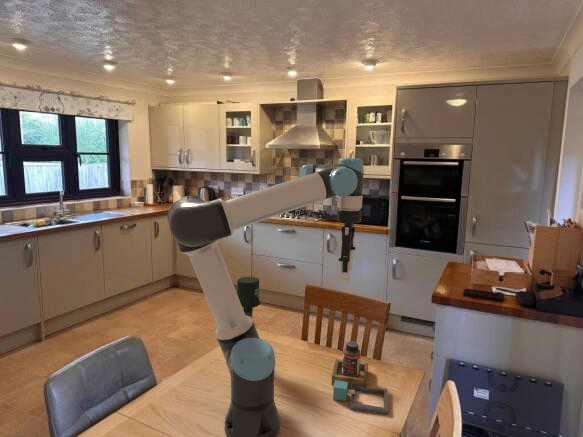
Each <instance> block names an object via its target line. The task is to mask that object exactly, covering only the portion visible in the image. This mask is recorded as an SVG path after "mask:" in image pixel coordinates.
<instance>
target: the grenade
mask: <svg viewBox="0 0 583 437" xmlns="http://www.w3.org/2000/svg"><path fill="white" fill-rule="evenodd" d="M236 293H237V295H238V298H239V300H240V303H241V305H242V308H243V310H244V313H245V315H246V316H249V317H251V318H252V319H253V310H254V308H257V307H259V306H260V304H261V300H260V279H259V278H257V277H254V276H242V277H240V278H238V279H237V280H236Z"/></svg>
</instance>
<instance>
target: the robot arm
mask: <svg viewBox="0 0 583 437" xmlns="http://www.w3.org/2000/svg"><path fill="white" fill-rule="evenodd" d="M364 171H365V170H364V161H363V159H361V158H353V157H351V158H350V157H347V158H345V157H343V158H342V157H341V158H339V160H338V163H337V164H318V163H317V164H315V163H314V164H313V163H310V164H304V165H302V166H301V168H300V170H299V177H297V178H294V179H292V180H288V181H285V182H282V183H281V182H280V183H278V184H275V185H273V186H269V187H266V188H262V189H260V190H257V191H253V192H250V193H247V194H244V195H241V196H237V197H234V198H230V199H228V200H225V199H224V200H223V199H222V198H217V199H214V200H210V201H205V200H204V199H202V198H200V197H197V196H189V195H188V196H183V197H180V198H178V199H177V200H176V201H174V202H173V203H172V205H171V206H170V207H169V208H168V211H167V222H168V228H169V231H170V234H171V235H172V237H173V238H174V240H175V242H176V244H177V247H178V249H179V250H180V253H181V254H183V255H187V256H188V259H189V260H190V263H191V265H192V268H193V270H194V273H195V275H196V277H197V280H198V282H199V284H200V287H201V289H202V292H203V294H204V297H205V299H206V302H207V304H208V306H209V309H210V312H211V314H212V315H213V318H214V321H215V324H216V326H217V329H216V331H215V337H216V339H217V343H218V345H219V348H220V349H221V352H222V354H223V357H224V359H225V362H226V366H227V368H228V372H229V375H230V404H229V407H228V409H227V413H226V415H225V419H224V433H225V435H226V437H277V436H278V434H279V432H280V429H281V416H280V414H279V410H278V409H277V405H276V402H275V368H276V367H275V366H276V356H275V351H274V350H275V349H274V348H273V346H272V344H271V343H269V341H266V340H263V339H261V337H260V334H259V332H258V330H257V327H256V324H255V322H254V319H253V317H252V318H251V317H249V316H246V315H245V313H244V310H243V308H242V305H241V303H240V300H239V298H238V295H237V289H236V288H235V285H234V282H233V281H232V278H231V275H230V272H229V270H228V267H227V265H226V262H225V260H224V257H223V255H222V252H221V250H220V247H219V244H218V243H219V241H220V240H222V239H224V238H228V237H230V236H232V235H233V234H234V233H235V230H238V229H242V228H244V227H248V226H251V225H253V224H255V223H259V222H262V221H266V220H268V219H271V218H273V217H277V216H280V215H282V214H285V213H288V212H290V211H294V210H297V209H300V208H303V207H307V206H309V205H312V204H314V203H318V202H321V201H324V200H326V199H327V200H328V199H330V198H333V197H334V198H335V201H336V202H337V204H336V205H337V210H336V221H337V222H338V223H343V225H344V226H342V227H341V251H340V257H339V258H338V262H340V270H339V271H340V272H339V273H340V275H339V277H340V278H339V282H340V283H346V284H347V283H348V284H349V283H350V275H351V274H350V272H351V271H353V261H354V251H355V250H356V246H355V244H354V238H355V233H356V227H355V226H354V224H358V223H361V222H362V212H363V211H362V210H361V209H362V208H363V188H364V186H363V185H364ZM336 196H337V197H336Z"/></svg>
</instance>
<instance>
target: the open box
mask: <svg viewBox="0 0 583 437" xmlns="http://www.w3.org/2000/svg"><path fill="white" fill-rule="evenodd" d="M342 362H343V359H336V358H335V360H334V365H333V370H332V374H331V385H333V386H334V383H335V380H337V381H344V382H348V387H349V388H352V384H353V385H360V386H368V380H369V379H368V377H369V363H368V362H361V361H360V374H359V377H350V376H343V375H342Z"/></svg>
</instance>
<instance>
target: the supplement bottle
mask: <svg viewBox="0 0 583 437" xmlns="http://www.w3.org/2000/svg"><path fill="white" fill-rule="evenodd" d="M361 356H362V355H361V350H360V349H359V343H358V342H356V341H347V342H346V344H345V347H344V349H343V351H342V360H343V362H342V375H343V376H350V377H359V374H360V362H361Z"/></svg>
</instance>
